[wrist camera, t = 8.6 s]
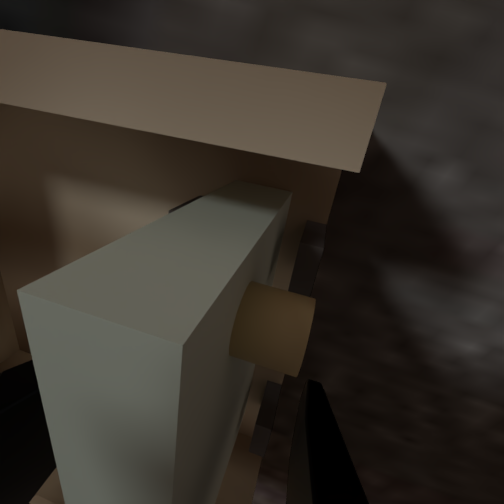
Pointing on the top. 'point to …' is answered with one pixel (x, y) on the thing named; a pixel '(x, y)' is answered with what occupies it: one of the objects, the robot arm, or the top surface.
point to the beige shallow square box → (163, 172)
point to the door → (164, 347)
